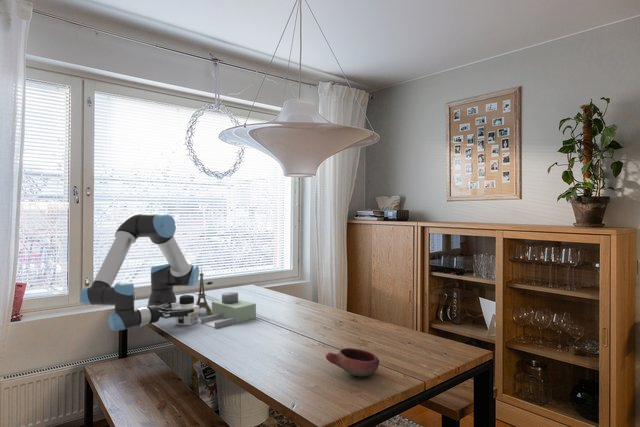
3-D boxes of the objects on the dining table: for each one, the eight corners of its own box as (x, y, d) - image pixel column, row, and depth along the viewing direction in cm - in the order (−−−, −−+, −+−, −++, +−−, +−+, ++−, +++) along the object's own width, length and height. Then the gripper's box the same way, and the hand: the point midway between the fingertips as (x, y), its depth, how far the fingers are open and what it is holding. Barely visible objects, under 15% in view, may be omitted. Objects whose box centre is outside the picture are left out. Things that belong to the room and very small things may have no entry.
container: (190, 325, 191) (189, 297, 191) (175, 324, 192) (174, 296, 192) (198, 320, 198) (198, 294, 198) (183, 320, 200) (183, 293, 200)
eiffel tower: (213, 315, 209) (213, 266, 208) (191, 317, 205) (191, 267, 205) (211, 310, 219) (211, 263, 218) (190, 312, 215) (190, 264, 215)
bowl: (357, 363, 143) (357, 341, 143) (386, 375, 134) (386, 350, 133) (323, 377, 132) (323, 352, 132) (352, 390, 123) (352, 363, 123)
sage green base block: (192, 320, 200) (192, 297, 199) (231, 311, 217) (231, 290, 216) (216, 328, 186) (215, 304, 186) (256, 317, 203) (256, 295, 203)
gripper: (135, 318, 190) (178, 309, 205) (161, 329, 173) (205, 318, 188) (135, 302, 190) (178, 294, 205) (160, 311, 173) (205, 302, 188)
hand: (191, 306), depth 197 cm, fingers open, 13 cm apart
